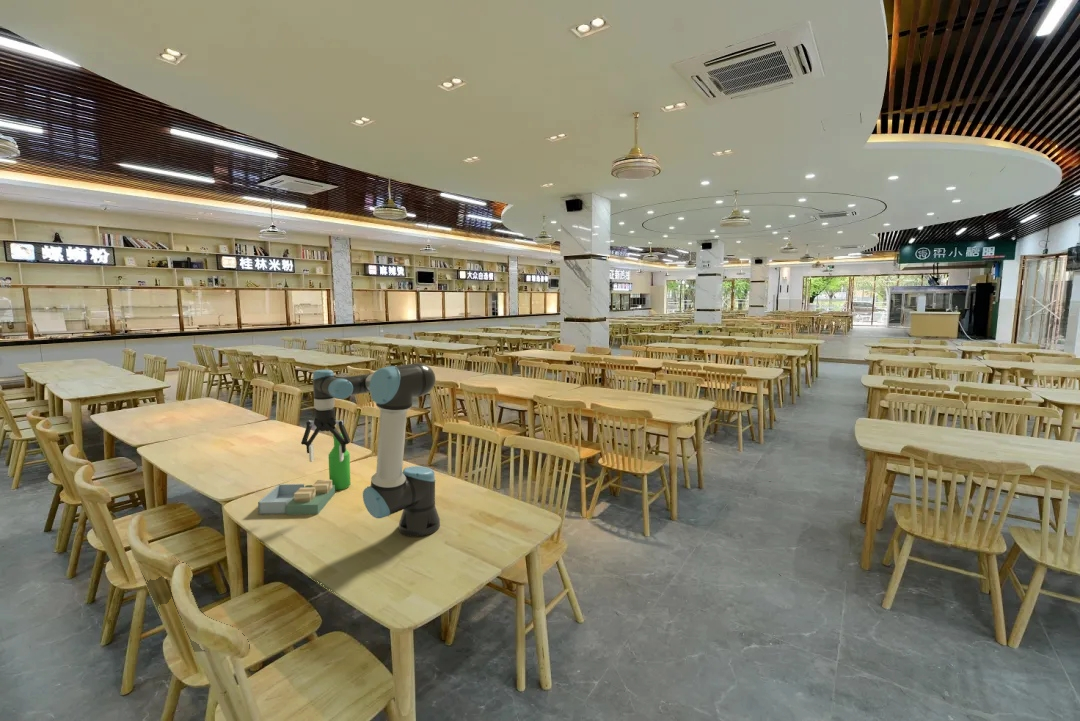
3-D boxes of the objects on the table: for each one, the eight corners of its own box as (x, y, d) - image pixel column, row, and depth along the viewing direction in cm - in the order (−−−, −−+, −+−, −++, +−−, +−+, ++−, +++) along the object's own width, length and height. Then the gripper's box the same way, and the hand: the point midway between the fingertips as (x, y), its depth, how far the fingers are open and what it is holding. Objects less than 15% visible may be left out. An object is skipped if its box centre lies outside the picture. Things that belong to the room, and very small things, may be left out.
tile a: (310, 501, 187) (309, 493, 186) (294, 501, 186) (294, 493, 186) (315, 495, 193) (315, 487, 192) (300, 495, 192) (300, 487, 192)
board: (318, 514, 185) (317, 504, 184) (286, 514, 184) (286, 505, 183) (335, 493, 204) (334, 484, 204) (306, 493, 203) (306, 485, 203)
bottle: (354, 483, 215) (352, 431, 212) (344, 491, 207) (342, 437, 203) (336, 482, 216) (334, 431, 213) (325, 490, 207) (323, 436, 204)
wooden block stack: (327, 493, 195) (327, 485, 195) (312, 493, 194) (312, 485, 194) (332, 487, 201) (332, 479, 200) (318, 487, 200) (317, 480, 200)
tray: (286, 513, 184) (285, 501, 184) (258, 514, 183) (258, 502, 183) (304, 494, 202) (304, 483, 202) (279, 495, 201) (278, 484, 201)
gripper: (357, 405, 190) (359, 457, 193) (298, 406, 188) (300, 457, 191) (352, 410, 183) (353, 463, 186) (290, 410, 181) (292, 464, 183)
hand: (326, 460), depth 188 cm, fingers open, 11 cm apart
